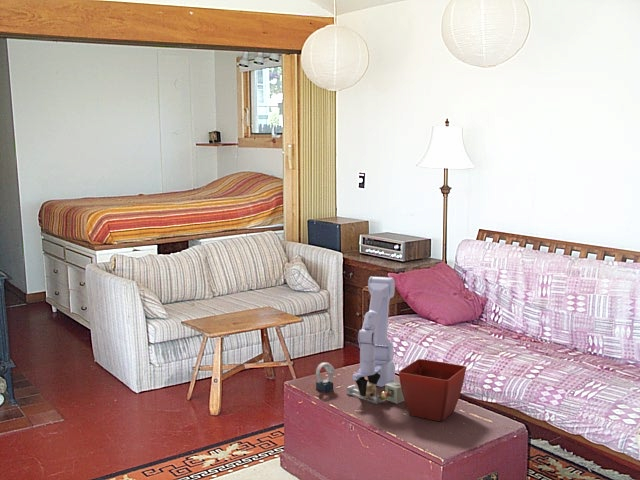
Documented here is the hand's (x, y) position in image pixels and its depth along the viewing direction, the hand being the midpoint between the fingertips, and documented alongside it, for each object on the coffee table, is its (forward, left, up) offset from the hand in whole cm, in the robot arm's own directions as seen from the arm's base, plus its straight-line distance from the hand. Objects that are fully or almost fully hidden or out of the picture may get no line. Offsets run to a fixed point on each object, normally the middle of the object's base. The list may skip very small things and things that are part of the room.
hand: (367, 393), depth 283 cm
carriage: (0, 0, -1) cm, 1 cm away
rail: (0, -1, -2) cm, 2 cm away
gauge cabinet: (-7, +9, -2) cm, 11 cm away
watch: (+5, -18, -2) cm, 19 cm away
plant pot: (-6, +27, -2) cm, 27 cm away
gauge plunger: (-2, +9, 0) cm, 9 cm away
